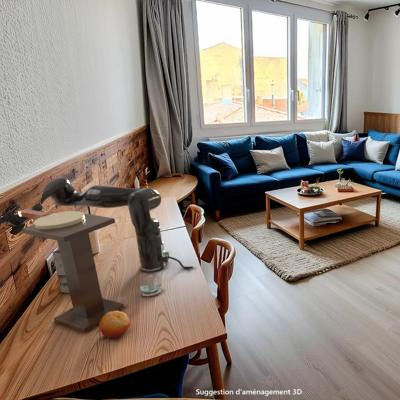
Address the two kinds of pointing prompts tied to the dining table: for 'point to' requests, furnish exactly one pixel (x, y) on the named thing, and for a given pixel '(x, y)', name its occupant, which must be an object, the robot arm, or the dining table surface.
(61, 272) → the coffee box
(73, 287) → the shelf stand
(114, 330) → the fruit
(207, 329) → the dining table surface
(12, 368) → the dining table surface
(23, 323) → the dining table surface
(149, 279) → the clear glass cup
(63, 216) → the table tennis paddle
